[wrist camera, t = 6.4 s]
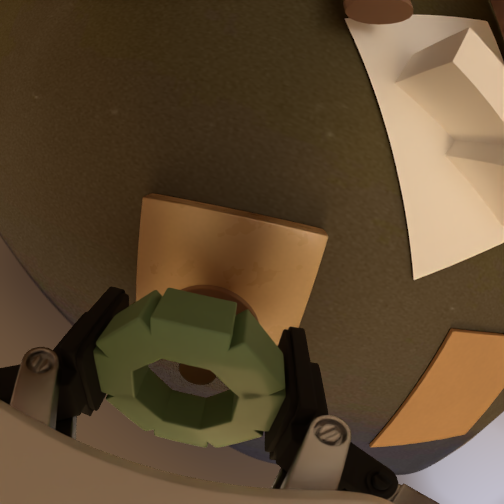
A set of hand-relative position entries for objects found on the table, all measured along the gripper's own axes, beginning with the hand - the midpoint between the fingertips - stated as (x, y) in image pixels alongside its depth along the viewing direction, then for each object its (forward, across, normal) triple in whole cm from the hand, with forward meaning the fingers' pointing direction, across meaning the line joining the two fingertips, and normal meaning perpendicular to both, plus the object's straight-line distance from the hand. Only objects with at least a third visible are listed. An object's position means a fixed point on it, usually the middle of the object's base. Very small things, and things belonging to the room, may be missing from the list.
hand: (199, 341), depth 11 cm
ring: (-1, 0, 0) cm, 1 cm away
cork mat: (+5, -23, +8) cm, 25 cm away
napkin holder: (+5, -12, -12) cm, 17 cm away
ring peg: (+5, 0, +1) cm, 5 cm away
